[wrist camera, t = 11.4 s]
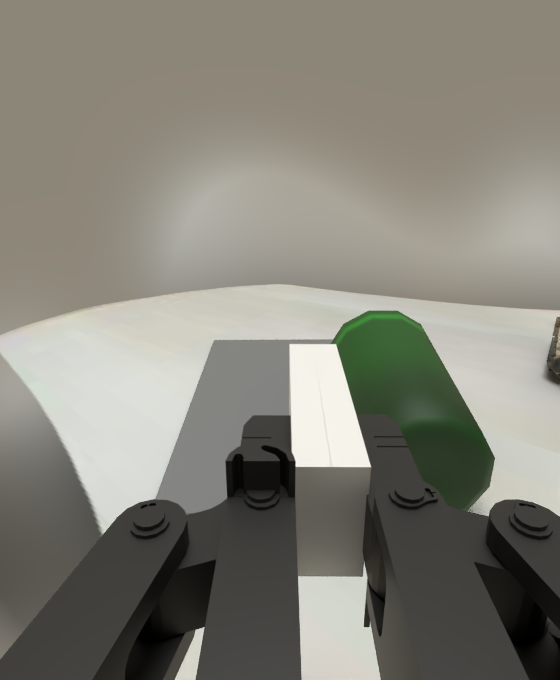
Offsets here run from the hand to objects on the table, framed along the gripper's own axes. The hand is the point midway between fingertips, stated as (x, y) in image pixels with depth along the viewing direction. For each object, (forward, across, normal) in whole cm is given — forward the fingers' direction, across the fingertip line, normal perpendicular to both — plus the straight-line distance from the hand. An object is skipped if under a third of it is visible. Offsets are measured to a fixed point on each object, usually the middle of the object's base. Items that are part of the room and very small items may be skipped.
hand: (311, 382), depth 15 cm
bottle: (+11, +8, -12) cm, 18 cm away
